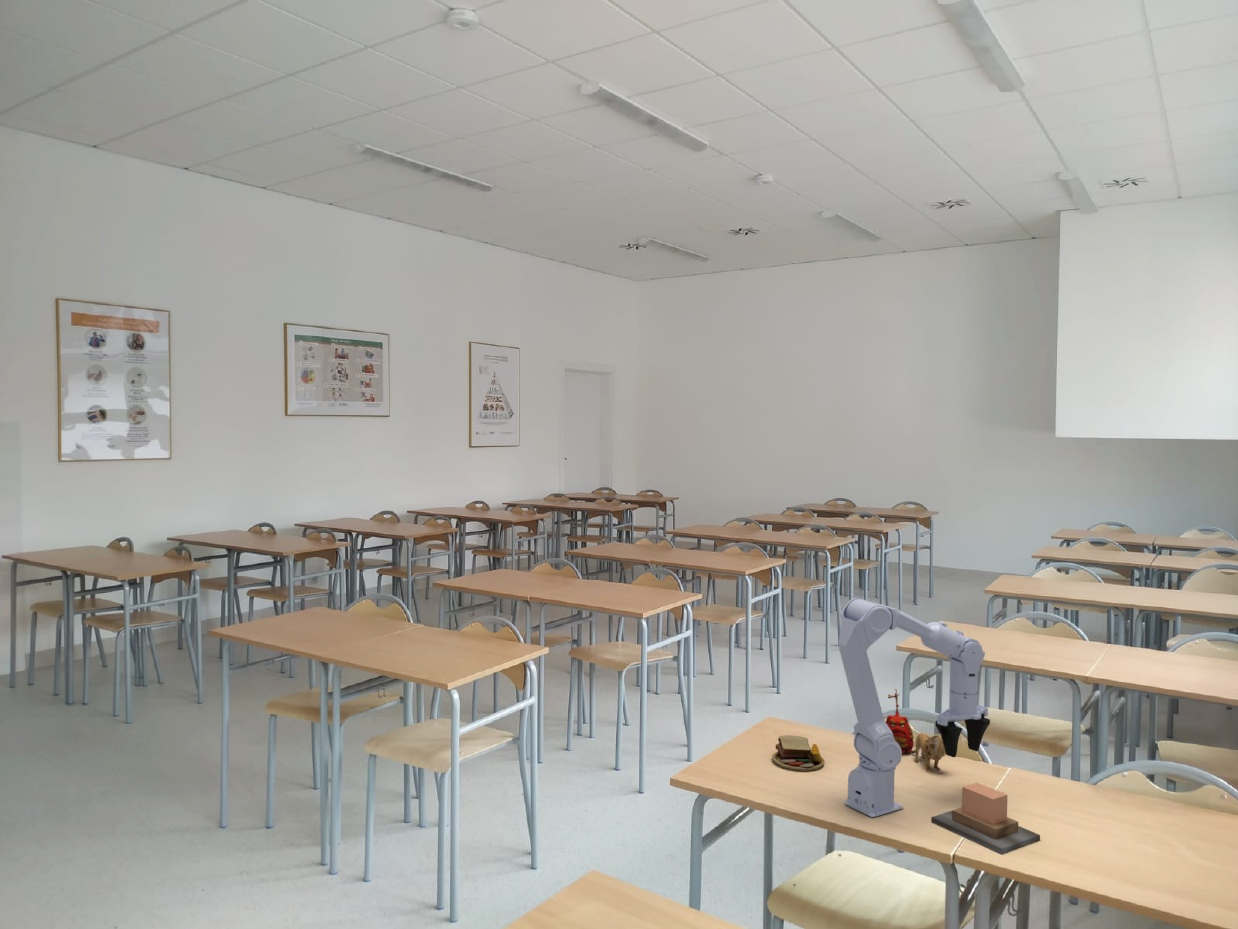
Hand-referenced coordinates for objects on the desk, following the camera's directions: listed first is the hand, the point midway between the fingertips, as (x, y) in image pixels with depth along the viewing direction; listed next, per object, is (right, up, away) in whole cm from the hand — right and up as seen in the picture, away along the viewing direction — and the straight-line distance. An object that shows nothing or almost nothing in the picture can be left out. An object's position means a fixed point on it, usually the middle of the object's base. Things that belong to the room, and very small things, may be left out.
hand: (962, 753), depth 186 cm
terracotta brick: (-2, -7, -16) cm, 18 cm away
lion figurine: (0, -10, +19) cm, 22 cm away
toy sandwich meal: (-32, -10, +21) cm, 39 cm away
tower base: (-2, -10, -16) cm, 19 cm away
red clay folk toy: (-5, -10, +29) cm, 31 cm away
